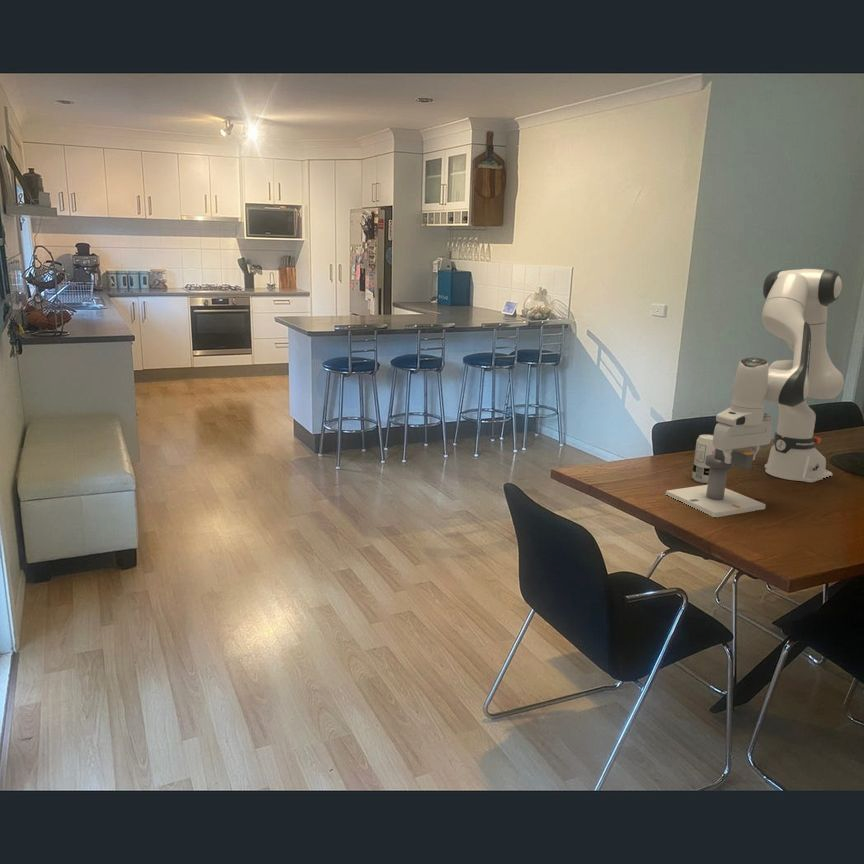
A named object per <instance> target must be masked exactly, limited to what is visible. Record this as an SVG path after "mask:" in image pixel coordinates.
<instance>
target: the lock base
mask: <svg viewBox="0 0 864 864" xmlns="http://www.w3.org/2000/svg"><path fill="white" fill-rule="evenodd" d="M728 470H729V469H718V468H713V467H710V470H709V477H708V484H702V485H697V486H690V487H683V488H682V487H681V488H676V489H669V490H666V491H665V496H666V495H668V496H670V497H669V498H671V497H672V498H671V499H673V498H674V499H673V500H675V499H676V501H677V500H679V501H681V502H683V503H682V504H684V503H685V504H684V505H686V504H687V505H686V506H688V505H689V507H690V506H691V507H690V508H692V507H693V508H692V509H694V508H695V509H694V510H697V509H698V510H697V511H699V510H700V511H699V512H701V511H702V512H701V513H703V512H704V513H703V514H705V513H706V515H707V514H708V515H707V516H710V517H712V518H714V517H716V518H720V517H727V516H733V515H738V514H744V513H750V512H756V510H757V511H763V510H766V506H767V505H766V504H765V503H763V502H761V501H759V500H755V499H753V498H751V497H748V496H746V495H743V494H742V493H739V492H737V491H734V490H732V489H730V488H729V489H728V488H726V485H727V484H726V483H727V477H728ZM668 496H667V497H668ZM679 501H678V502H679ZM681 502H680V503H681Z"/></svg>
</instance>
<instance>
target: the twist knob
mask: <svg viewBox="0 0 864 864" xmlns="http://www.w3.org/2000/svg"><path fill="white" fill-rule="evenodd" d="M753 455H754V452H752V451H750V450H749V451H744V450H742V449H740V448H738V449H732V453H731V457H732V458H733V463H731V464H727V463H725V462H724V461H725V456H724V453H723V450H719V449H716V451H715V455H708V456H706V460H705V464H706V465H707V466H709V467H713V468H718V469H728V470H732V469H733V468H734V466H735V467H739V468H741V469H744V470H748V469H752V467H753V461H754V460H753Z"/></svg>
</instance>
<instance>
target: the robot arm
mask: <svg viewBox="0 0 864 864" xmlns="http://www.w3.org/2000/svg"><path fill="white" fill-rule="evenodd" d="M842 289H843V282H842V277H841V275H840V273H839V272H838V271H837V270H833V269H827V268H826V269H820V268H802V269H801V268H800V269H787V270H782V269H780V270H775V271H772V272H770V273H768V275H767V276H766V277H765V280H764V281H763V286H762V293H763V298H764V299H765V301H764V305H763V308H762V313H761V322H762V325H763V327H764V329H765V330H767V331H768V332H769V333H770V334H772V335H773V336H774V337H776V338H779V339H782V340H783V341H786V343H787V347H788V348H789V349H790V350H791V351H792V352H793V357H792V358H793V360H792V359H783V360H775V361H773V362H772V363H771V364H770V365H769V362H768V360H766V359H764V358H761V357H746V358H743V359H741V360H740V361H739V362H738V366H737V369H736V372H735V376H734V381H733V386H732V387H733V389H732V390H733V391H732V392H733V397H732V400H731V402H730V407H728V408H726V409H725V410H723V411H721V412H719V413H717V414H716V416H715V421H716V422H717V423H716V425H715V427H714V430H713V434H712V435H713V446H714V448H716V449H719V450H723V453H724V456H725V461H724V462H725V463H727V464H731V463H733V458H732V457H731V453H732V449H743V448H744V449H745V448H750V450H749V451H752V452H754V455H753V461H755V460H756V455H757V453H758V452H759V450H760V448H761V447H760V446H767V445H769V444H770V443H771V442H772V436H773V443H774V444H773V445H772V446H771V447H770V448H771V449H770V452H769V455H768V459H767V462H766V463H765V464H764V469H765V470H764V471H765V473H766V474H768V475H769V476H772V477H775V478H779V479H782V480H788V481H799V482H803V483H804V482H805V483H816V482H817V481H821V480H824V479H823V478H825V479H827V478H826V477H828V478H830V477H829V476H831V477H833V473H832V471H829V470H828V469H826V468H827V467H826V466H827V459H826V457H825V455H824V456H823V454H822V453H821V452H820V451H819V450H818V449H817V448H816V444H820V443H821V441H822V439H821V437H818V436H814V430H815V424H816V420H817V419H816V418H817V417H816V416H817V415H816V412H815V411H814V410H813V409H812V408H811V407H810V406H809V404H808V402H807V398H811V399H815V400H832V399H834V398H836V397H838V396H839V394H841V392H842V391H843V389H844V385H845V380H844V376H843V373H842V372H841V371H840V370H838V368H837V367H836V366H835V364H833V361H832V360H831V358H830V355H829V352H828V348H827V323H828V307H829V305H830V304H833V303H834V302H836V300H838V298H839V297H840V293H841V291H842ZM765 402H767V403H772V404H774V403H775V404H777V406H778V420H777V428H776V432H775V433H774V435H772V434H773V424H772V417H771V415H770V414H769V413H767V412H765V407H766V404H765Z"/></svg>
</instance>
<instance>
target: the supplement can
mask: <svg viewBox="0 0 864 864" xmlns="http://www.w3.org/2000/svg"><path fill="white" fill-rule="evenodd" d="M713 435H714V434H700V435H698V437H697V439H696V444H695V451H694V460H693V466H692V467H693V468H692V474H691V478H692V479H693V480H694V481H695V482H697V483H699V484H704V483H706V484H705V485H708V477H709V470H710V467H709V466H707V465H706V464H705V460H706V456H708V455H715V451H716V448H714V446H713Z"/></svg>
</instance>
